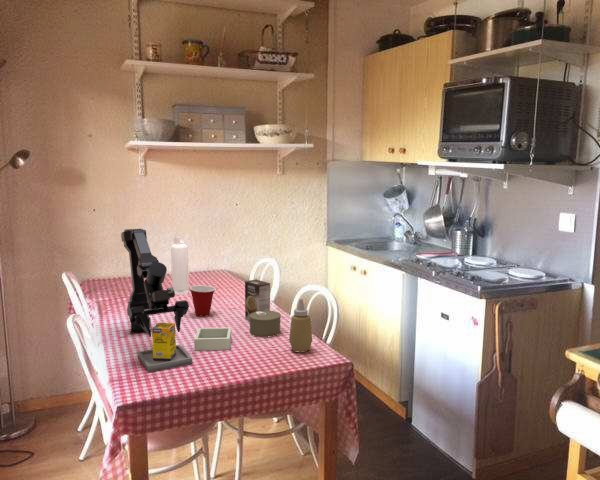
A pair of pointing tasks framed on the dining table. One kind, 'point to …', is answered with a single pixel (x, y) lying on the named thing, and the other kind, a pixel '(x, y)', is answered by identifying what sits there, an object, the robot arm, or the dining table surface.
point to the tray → (156, 365)
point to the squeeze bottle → (300, 329)
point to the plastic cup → (202, 299)
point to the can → (264, 323)
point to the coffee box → (256, 297)
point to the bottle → (180, 266)
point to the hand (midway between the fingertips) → (164, 333)
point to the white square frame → (213, 339)
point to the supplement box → (164, 341)
